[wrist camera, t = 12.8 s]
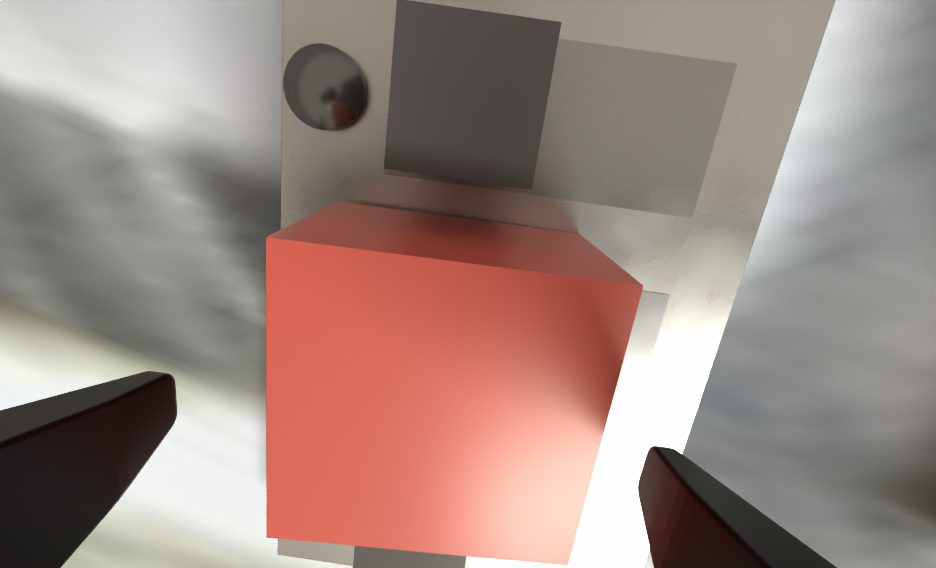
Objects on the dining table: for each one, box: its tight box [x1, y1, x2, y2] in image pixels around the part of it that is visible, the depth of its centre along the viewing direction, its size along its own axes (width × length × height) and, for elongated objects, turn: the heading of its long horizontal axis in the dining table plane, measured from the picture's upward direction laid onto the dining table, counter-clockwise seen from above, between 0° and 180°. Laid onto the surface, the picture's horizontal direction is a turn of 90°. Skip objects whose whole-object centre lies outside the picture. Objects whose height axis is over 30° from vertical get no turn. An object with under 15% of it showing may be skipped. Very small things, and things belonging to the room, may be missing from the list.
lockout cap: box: [266, 201, 643, 566], centre depth 11 cm, size 7×7×5 cm
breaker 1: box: [353, 546, 467, 568], centre depth 14 cm, size 3×3×3 cm
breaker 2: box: [384, 0, 562, 190], centre depth 10 cm, size 3×3×3 cm
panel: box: [278, 0, 836, 568], centre depth 14 cm, size 13×20×2 cm, turn 172°
